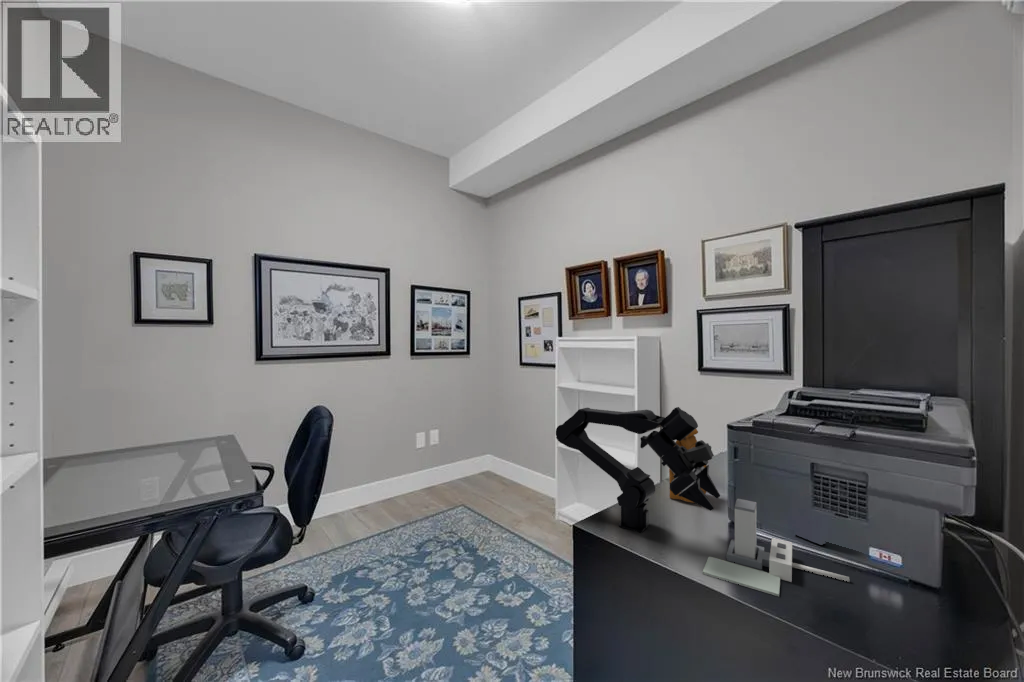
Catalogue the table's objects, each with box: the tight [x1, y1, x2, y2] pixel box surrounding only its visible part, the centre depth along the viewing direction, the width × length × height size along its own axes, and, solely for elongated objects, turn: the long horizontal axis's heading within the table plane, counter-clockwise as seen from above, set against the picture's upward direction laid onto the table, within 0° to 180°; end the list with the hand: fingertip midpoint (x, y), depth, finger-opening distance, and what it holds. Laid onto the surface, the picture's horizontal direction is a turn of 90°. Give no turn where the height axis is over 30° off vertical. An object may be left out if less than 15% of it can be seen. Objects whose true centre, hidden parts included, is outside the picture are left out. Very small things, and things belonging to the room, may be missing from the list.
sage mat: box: [702, 556, 781, 598], centre depth 89 cm, size 14×8×1 cm, turn 55°
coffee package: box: [668, 428, 707, 504], centre depth 133 cm, size 10×12×22 cm
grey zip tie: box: [726, 537, 850, 583], centre depth 92 cm, size 22×12×4 cm, turn 55°
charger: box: [734, 498, 758, 560], centre depth 97 cm, size 4×6×12 cm
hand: (715, 503), depth 100 cm, fingers open, 9 cm apart
